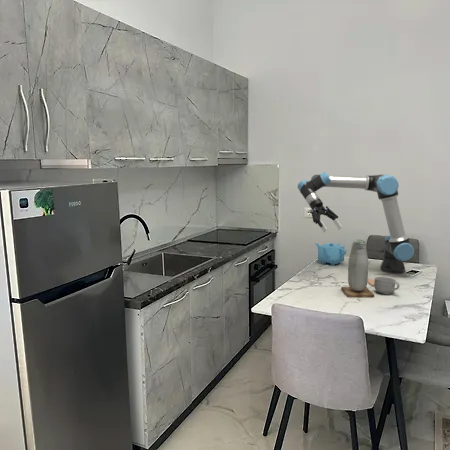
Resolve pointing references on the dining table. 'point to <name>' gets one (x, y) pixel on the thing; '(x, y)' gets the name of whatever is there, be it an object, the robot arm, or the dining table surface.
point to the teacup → (385, 285)
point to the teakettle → (331, 253)
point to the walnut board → (357, 292)
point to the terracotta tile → (371, 282)
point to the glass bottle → (358, 266)
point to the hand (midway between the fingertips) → (333, 229)
